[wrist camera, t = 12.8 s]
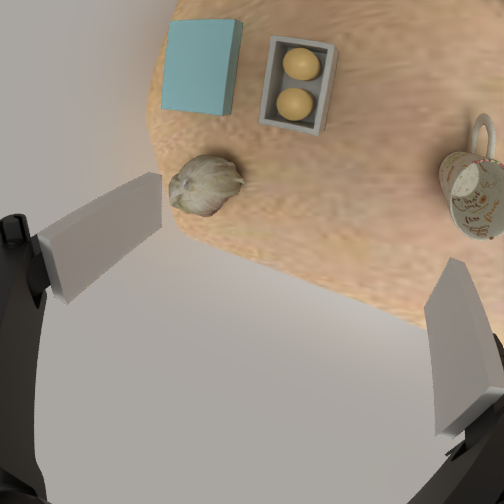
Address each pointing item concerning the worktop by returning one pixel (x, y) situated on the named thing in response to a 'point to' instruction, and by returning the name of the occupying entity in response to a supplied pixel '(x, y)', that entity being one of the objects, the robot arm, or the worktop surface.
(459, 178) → the mug
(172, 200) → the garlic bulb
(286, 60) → the box
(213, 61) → the lid
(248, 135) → the worktop surface
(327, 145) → the worktop surface
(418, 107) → the worktop surface
